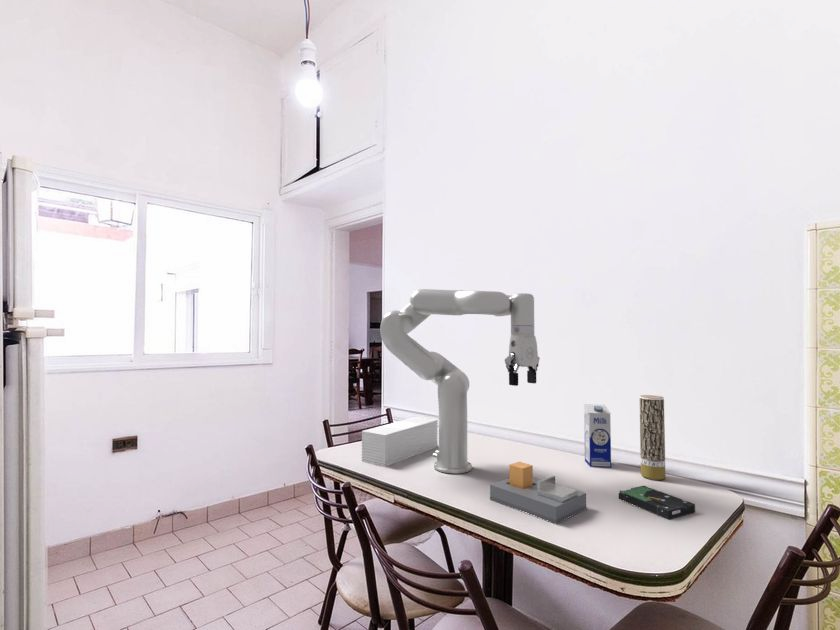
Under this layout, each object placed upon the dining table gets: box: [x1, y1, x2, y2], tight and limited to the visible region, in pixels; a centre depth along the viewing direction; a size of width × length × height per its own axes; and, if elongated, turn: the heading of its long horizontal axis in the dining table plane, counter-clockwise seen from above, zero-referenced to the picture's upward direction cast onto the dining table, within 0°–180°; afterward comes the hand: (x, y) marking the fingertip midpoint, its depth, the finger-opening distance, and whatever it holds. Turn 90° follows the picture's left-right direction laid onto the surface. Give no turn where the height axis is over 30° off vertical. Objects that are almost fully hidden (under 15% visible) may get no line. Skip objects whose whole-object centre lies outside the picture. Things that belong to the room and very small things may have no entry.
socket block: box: [489, 476, 587, 524], centre depth 115 cm, size 20×14×4 cm
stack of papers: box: [361, 416, 439, 468], centre depth 163 cm, size 32×11×11 cm, turn 144°
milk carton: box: [583, 403, 612, 468], centre depth 151 cm, size 7×7×20 cm
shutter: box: [537, 475, 578, 502], centre depth 111 cm, size 7×7×3 cm
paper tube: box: [639, 394, 666, 481], centre depth 137 cm, size 7×7×25 cm
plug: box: [508, 461, 534, 489], centre depth 119 cm, size 4×4×8 cm
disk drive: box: [618, 485, 696, 520], centre depth 114 cm, size 10×3×15 cm
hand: (522, 384), depth 142 cm, fingers open, 9 cm apart
